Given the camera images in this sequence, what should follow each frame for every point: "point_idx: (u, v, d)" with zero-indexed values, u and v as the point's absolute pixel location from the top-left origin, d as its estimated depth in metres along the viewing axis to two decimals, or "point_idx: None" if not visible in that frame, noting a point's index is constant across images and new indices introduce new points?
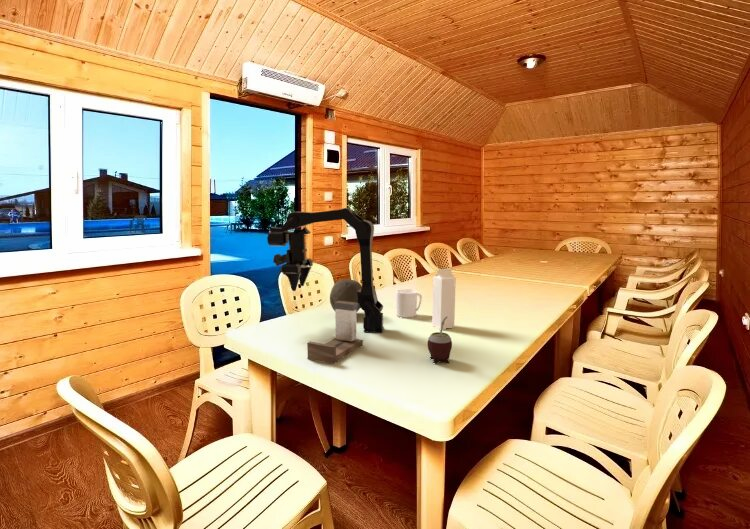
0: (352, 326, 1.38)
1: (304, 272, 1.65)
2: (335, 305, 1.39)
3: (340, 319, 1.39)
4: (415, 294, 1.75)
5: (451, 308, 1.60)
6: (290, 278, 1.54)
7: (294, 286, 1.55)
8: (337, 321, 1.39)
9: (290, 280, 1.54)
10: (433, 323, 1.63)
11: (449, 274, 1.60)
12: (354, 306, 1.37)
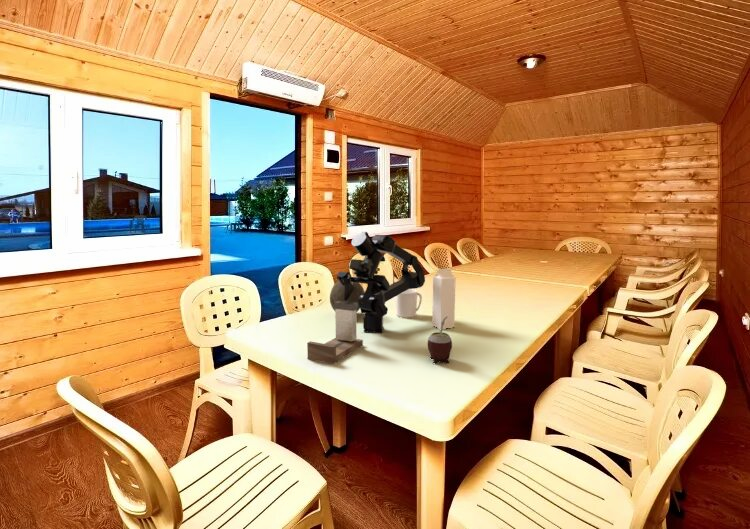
0: (352, 326, 1.38)
1: (351, 289, 1.50)
2: (335, 305, 1.39)
3: (340, 319, 1.39)
4: (415, 294, 1.75)
5: (451, 308, 1.60)
6: (370, 290, 1.45)
7: (366, 299, 1.44)
8: (337, 321, 1.39)
9: (369, 291, 1.44)
10: (433, 323, 1.63)
11: (449, 274, 1.60)
12: (354, 306, 1.37)
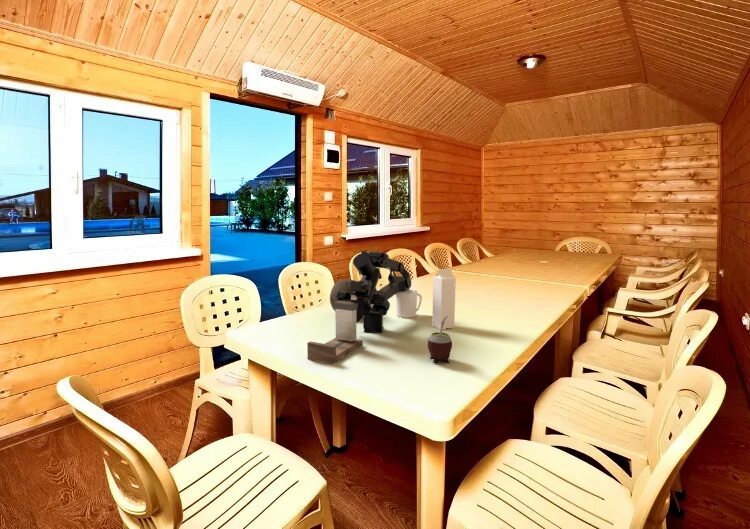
0: (352, 326, 1.38)
1: None
2: (335, 305, 1.39)
3: (340, 319, 1.39)
4: (415, 294, 1.75)
5: (451, 308, 1.60)
6: (362, 309, 1.46)
7: (359, 319, 1.46)
8: (337, 321, 1.39)
9: (361, 311, 1.46)
10: (433, 323, 1.63)
11: (449, 274, 1.60)
12: (354, 306, 1.37)
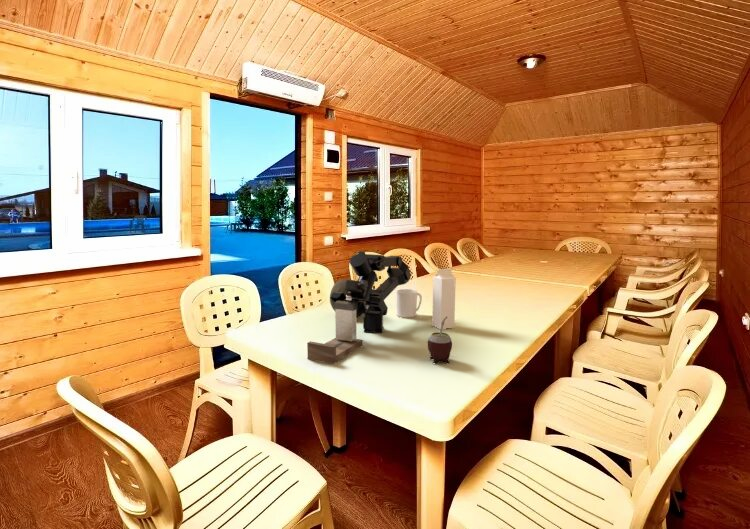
0: (352, 326, 1.38)
1: None
2: (335, 305, 1.39)
3: (340, 319, 1.39)
4: (415, 294, 1.75)
5: (451, 308, 1.60)
6: (357, 310, 1.43)
7: None
8: (337, 321, 1.39)
9: (356, 312, 1.42)
10: (433, 323, 1.63)
11: (449, 274, 1.60)
12: (354, 306, 1.37)
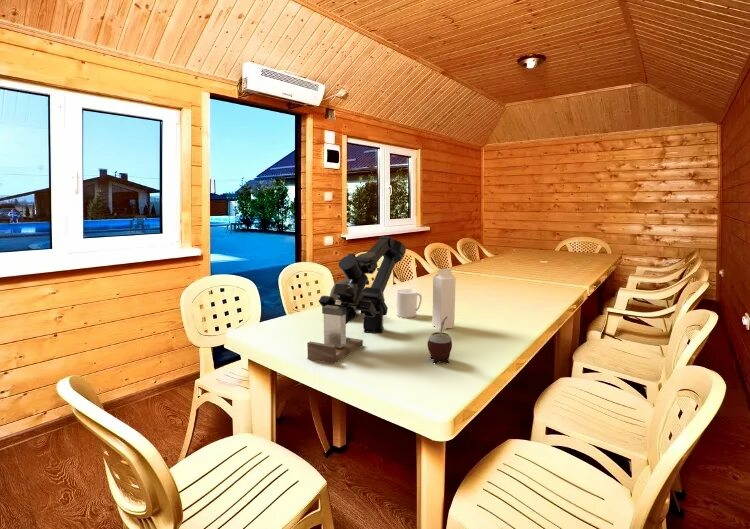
0: (341, 332, 1.32)
1: None
2: (323, 310, 1.33)
3: (328, 324, 1.33)
4: (415, 294, 1.75)
5: (451, 308, 1.60)
6: (346, 315, 1.37)
7: None
8: (325, 326, 1.33)
9: None
10: (433, 323, 1.63)
11: (449, 274, 1.60)
12: (343, 311, 1.31)
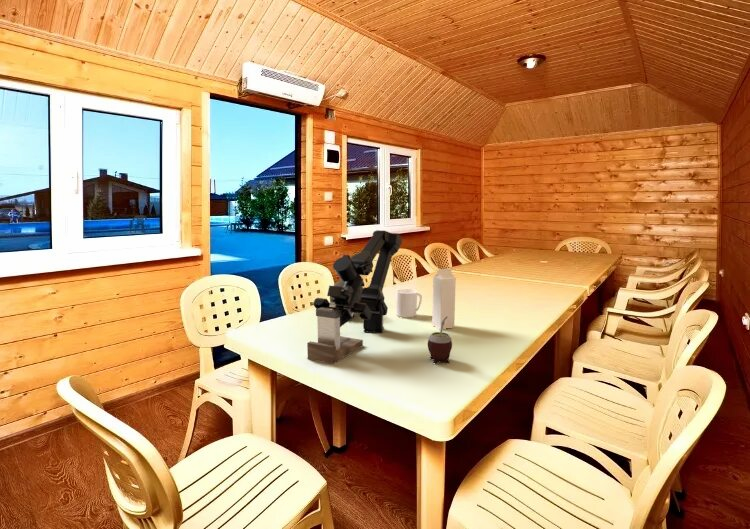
0: (335, 335, 1.29)
1: None
2: (317, 312, 1.30)
3: (322, 327, 1.30)
4: (415, 294, 1.75)
5: (451, 308, 1.60)
6: (341, 318, 1.34)
7: None
8: (319, 329, 1.30)
9: (340, 320, 1.33)
10: (433, 323, 1.63)
11: (449, 274, 1.60)
12: (337, 313, 1.28)
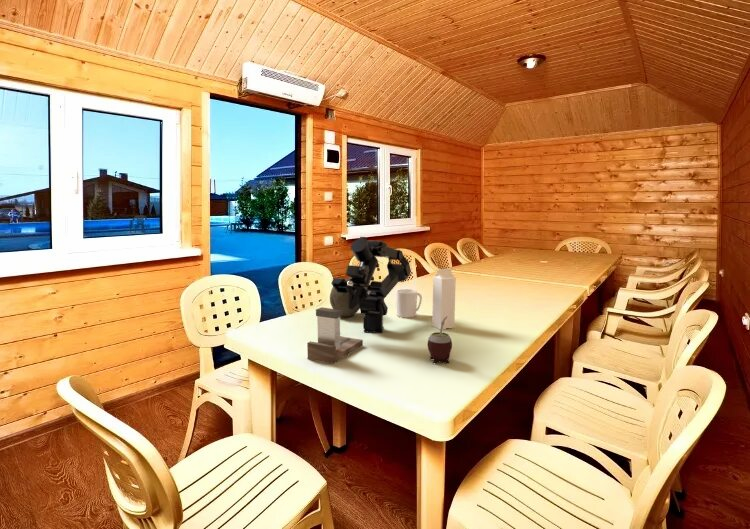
0: (335, 335, 1.29)
1: None
2: (317, 312, 1.30)
3: (322, 327, 1.30)
4: (415, 294, 1.75)
5: (451, 308, 1.60)
6: (358, 295, 1.43)
7: (355, 305, 1.43)
8: (319, 329, 1.30)
9: (357, 297, 1.43)
10: (433, 323, 1.63)
11: (449, 274, 1.60)
12: (337, 313, 1.28)
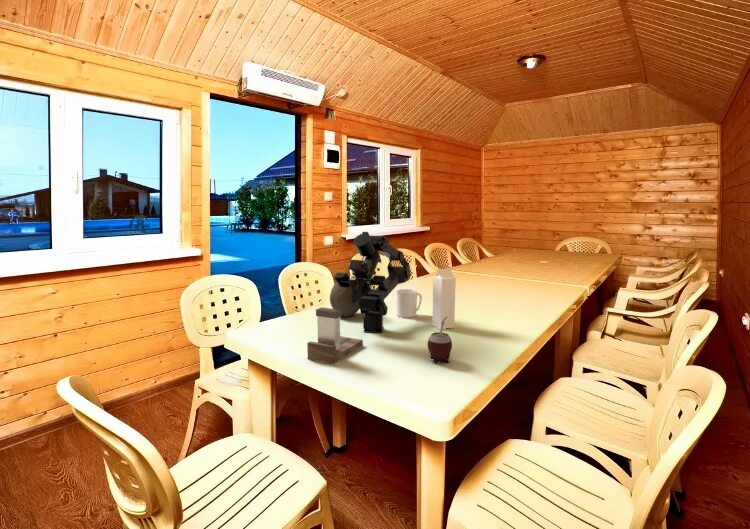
0: (335, 335, 1.29)
1: None
2: (317, 312, 1.30)
3: (322, 327, 1.30)
4: (415, 294, 1.75)
5: (451, 308, 1.60)
6: (361, 289, 1.44)
7: (357, 299, 1.44)
8: (319, 329, 1.30)
9: (360, 291, 1.44)
10: (433, 323, 1.63)
11: (449, 274, 1.60)
12: (337, 313, 1.28)
